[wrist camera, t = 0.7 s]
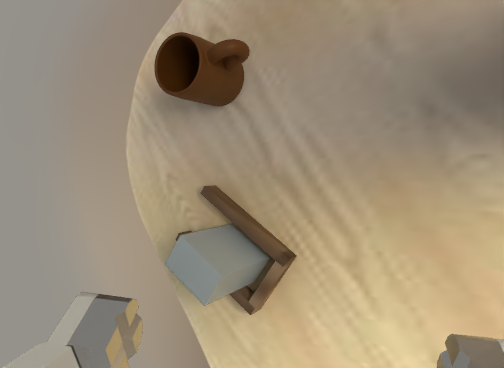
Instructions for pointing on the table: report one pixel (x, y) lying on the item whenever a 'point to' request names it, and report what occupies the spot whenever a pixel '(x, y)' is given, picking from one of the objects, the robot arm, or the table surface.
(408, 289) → the table surface
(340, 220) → the table surface
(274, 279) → the walnut cradle
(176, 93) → the mug
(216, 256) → the tall grey rectangular block
